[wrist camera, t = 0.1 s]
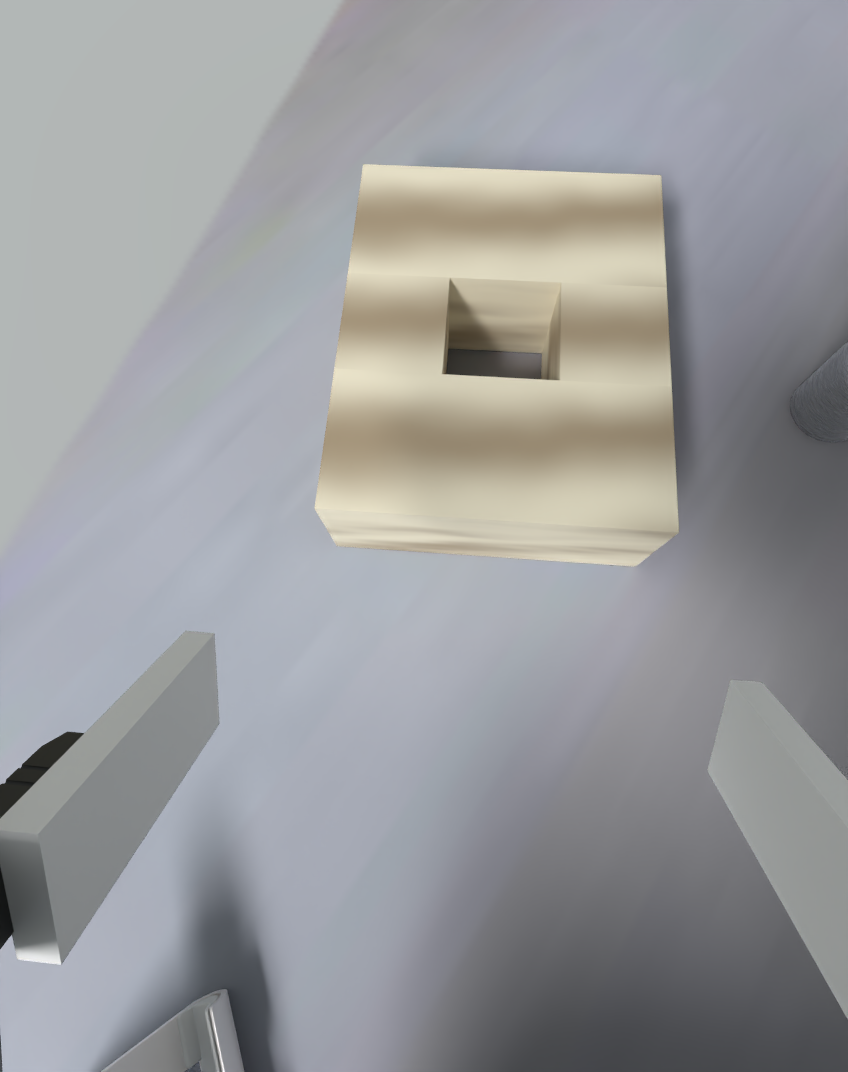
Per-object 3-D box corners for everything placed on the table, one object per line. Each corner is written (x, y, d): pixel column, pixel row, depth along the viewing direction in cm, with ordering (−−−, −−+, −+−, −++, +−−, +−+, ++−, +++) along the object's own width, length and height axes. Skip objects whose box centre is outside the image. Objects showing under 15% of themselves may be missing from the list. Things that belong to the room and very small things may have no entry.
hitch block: (635, 566, 31) (678, 532, 26) (337, 546, 32) (314, 508, 26) (627, 258, 37) (661, 175, 31) (375, 248, 38) (363, 164, 32)
